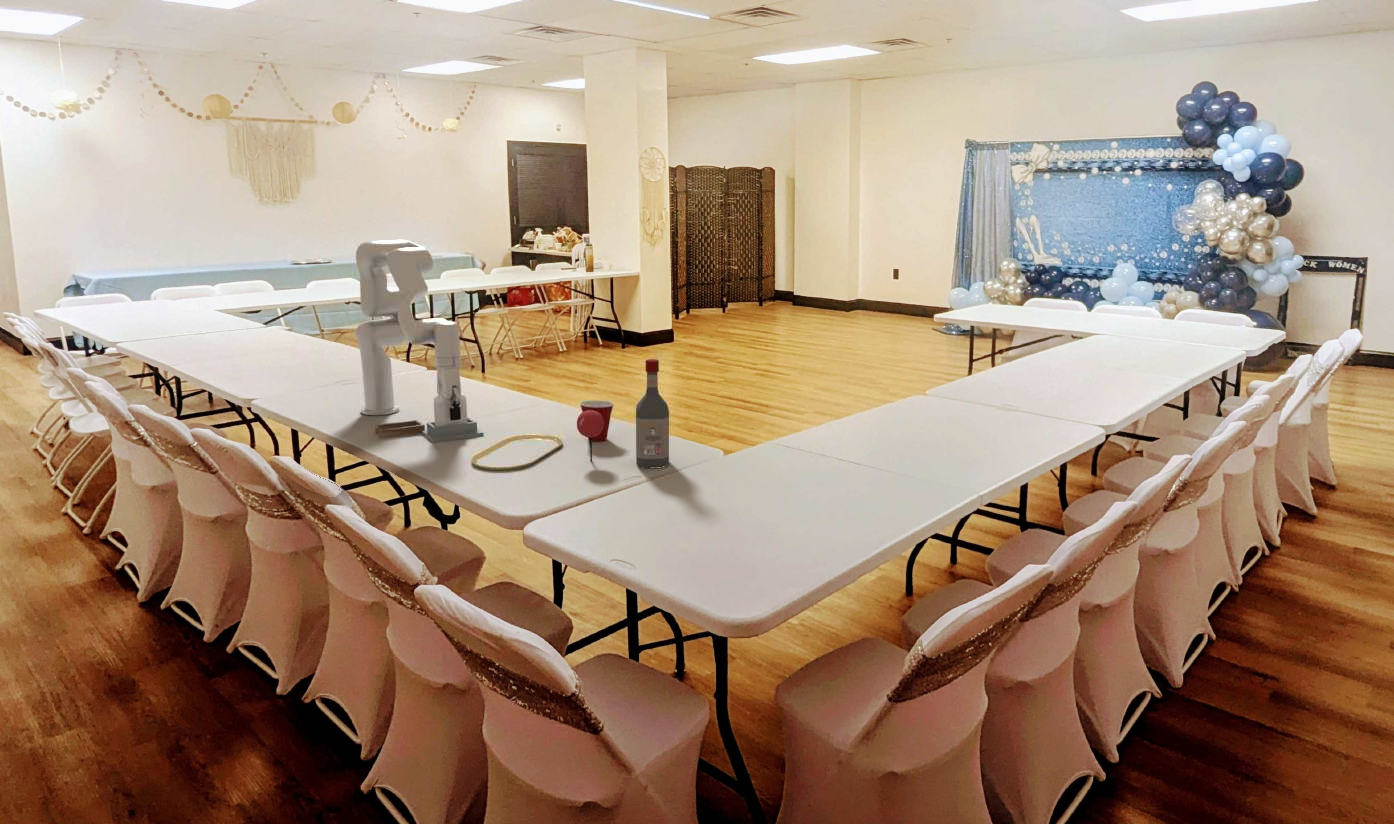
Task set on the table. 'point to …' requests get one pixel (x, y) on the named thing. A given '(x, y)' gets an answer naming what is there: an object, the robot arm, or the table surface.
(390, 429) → the wooden picture frame
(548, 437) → the gold oval ring
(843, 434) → the table surface
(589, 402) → the plastic cup
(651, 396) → the liquor
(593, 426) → the lollipop
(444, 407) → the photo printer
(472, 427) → the docking base
